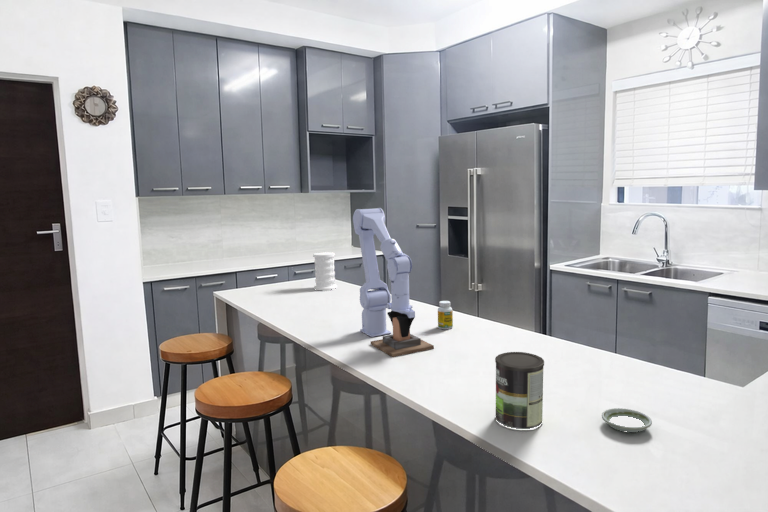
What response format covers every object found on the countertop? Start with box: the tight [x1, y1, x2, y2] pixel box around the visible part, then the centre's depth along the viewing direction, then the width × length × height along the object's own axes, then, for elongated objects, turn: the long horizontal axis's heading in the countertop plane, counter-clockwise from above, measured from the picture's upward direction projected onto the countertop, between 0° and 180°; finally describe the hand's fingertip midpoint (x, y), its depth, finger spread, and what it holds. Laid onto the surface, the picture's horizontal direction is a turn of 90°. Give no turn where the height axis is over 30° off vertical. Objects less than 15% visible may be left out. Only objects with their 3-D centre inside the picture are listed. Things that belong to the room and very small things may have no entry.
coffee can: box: [494, 351, 545, 429], centre depth 113 cm, size 10×10×14 cm
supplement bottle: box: [437, 300, 454, 330], centre depth 187 cm, size 5×5×10 cm
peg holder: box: [370, 333, 435, 358], centre depth 168 cm, size 15×15×3 cm
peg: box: [392, 317, 411, 341], centre depth 167 cm, size 4×4×8 cm
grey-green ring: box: [601, 407, 653, 433], centre depth 110 cm, size 10×10×2 cm
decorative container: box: [312, 251, 338, 291], centre depth 263 cm, size 12×12×18 cm
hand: (401, 334), depth 167 cm, fingers closed on peg, 4 cm apart
